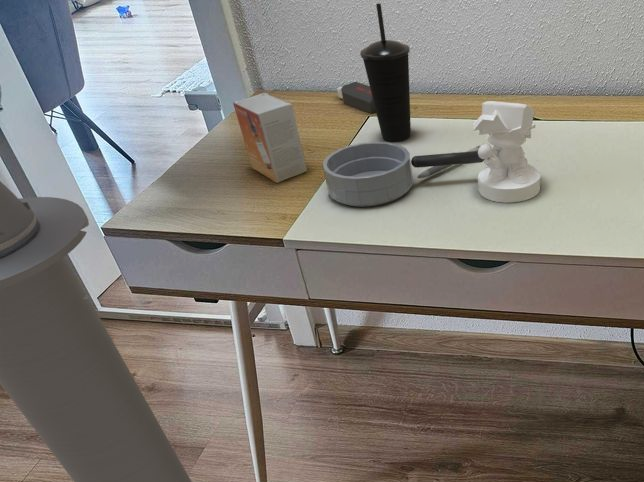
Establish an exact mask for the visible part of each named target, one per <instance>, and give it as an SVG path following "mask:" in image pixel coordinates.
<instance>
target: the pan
mask: <svg viewBox="0 0 644 482" xmlns="http://www.w3.org/2000/svg"><path fill="white" fill-rule="evenodd" d="M322 170H323V174H324V175H323V176H324V179H325V183H326V187H327V188H326V189H327V192H328V194H329V196H330V198H331V199H333V200H334V201H336V202H338V203H341V204H343V205H346V206H348V207H349V206H351V207H358V208H361V207H362V208H363V207H364V208H365V207H367V208H368V207H376V206H381V205H385V204H388V203H391V202H394V201H395V200H398V199H400V198H401V197H403V196H404V195H405V194H406V193H408V192H409V191H410V189H411V188H412V187H413V185H414V177H413V176H414V175H413V168H412V164H411V153H410V152H409V150H408V149H407V147H404V146H402V145H401V144H398V143H395V142H389V141H368V142H367V141H366V142H360V143H355V144H349V145H347V146H344V147H341V148H338V149H336V150H335V151H333V152H331V153H330V154H329V155H328V156H326V158H324V160H323V162H322Z"/></svg>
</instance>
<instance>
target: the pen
mask: <svg viewBox="0 0 644 482" xmlns="http://www.w3.org/2000/svg"><path fill="white" fill-rule="evenodd" d="M481 145H482V144H480V145H478V146H475V147H473V148H470V149H469V150H467V151H465V152H471V151H478V149H479V147H480V146H481ZM452 166H453V165H444V166H432V167H428V168H427V169H425V170H424V171H422V172H420V173H419V174H418V175H417V177H416V179H419V180H421V179H425V178H428V177H431V176H433V175H435V174H438V173H440V172H441V171H443V170H445V169H448V168H450V167H452Z"/></svg>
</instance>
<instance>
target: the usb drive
mask: <svg viewBox="0 0 644 482" xmlns="http://www.w3.org/2000/svg"><path fill="white" fill-rule="evenodd" d="M336 92H337V97H338V99H342V102H343V104H344V105H347V106H349V107H352V108H355V109H357V110H361V111H363V112H366V113H368V114H374V113H376V109H375V105H374V101H373V97H372V93H371V89H370V85H367V84H364V83H361V82H358V81H354V82H350V83H348V84H347V83H346V84H345V85H341V86H339V87H337V88H336Z"/></svg>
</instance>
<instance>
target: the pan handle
mask: <svg viewBox="0 0 644 482" xmlns="http://www.w3.org/2000/svg"><path fill="white" fill-rule="evenodd" d="M410 160H411V167H413V168H418V169H419V168H431V167H433V166H444V165H452V166H453V165H467V164H481V163H484V161H485V159H481V158H480V157H479V155H478V151H471V152H466V151H460V152H459V151H458V152H448V153H435V154H424V155H415V156H414V155H413V157H411V158H410Z"/></svg>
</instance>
